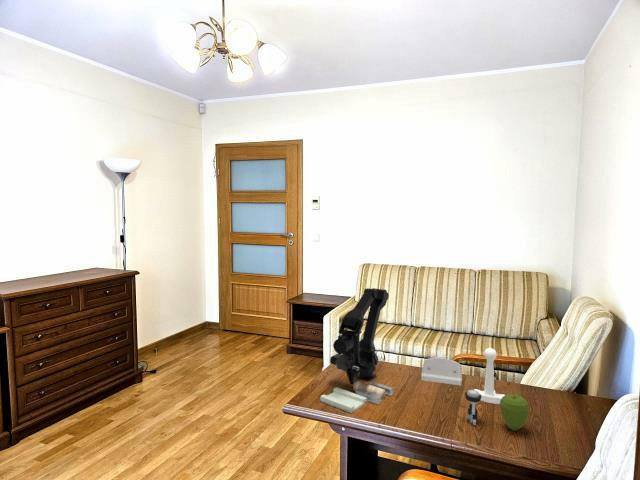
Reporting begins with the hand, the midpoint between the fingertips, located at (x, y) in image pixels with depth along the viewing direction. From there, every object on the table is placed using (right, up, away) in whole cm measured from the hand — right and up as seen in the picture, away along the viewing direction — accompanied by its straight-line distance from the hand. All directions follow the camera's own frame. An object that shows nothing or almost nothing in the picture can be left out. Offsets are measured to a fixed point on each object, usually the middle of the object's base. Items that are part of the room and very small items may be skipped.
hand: (352, 384), depth 165 cm
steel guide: (+8, -2, -6) cm, 11 cm away
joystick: (+52, -3, -9) cm, 52 cm away
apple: (+51, -4, -30) cm, 59 cm away
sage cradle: (-4, -3, -12) cm, 13 cm away
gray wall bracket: (+39, -1, +9) cm, 40 cm away
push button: (+39, -4, -25) cm, 47 cm away
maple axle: (+7, -2, -5) cm, 9 cm away
